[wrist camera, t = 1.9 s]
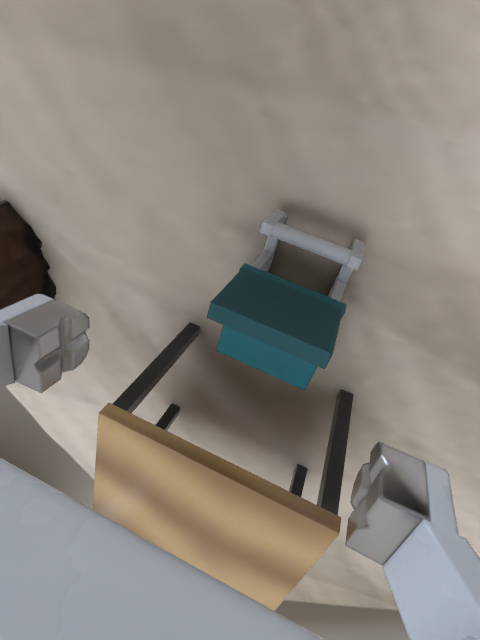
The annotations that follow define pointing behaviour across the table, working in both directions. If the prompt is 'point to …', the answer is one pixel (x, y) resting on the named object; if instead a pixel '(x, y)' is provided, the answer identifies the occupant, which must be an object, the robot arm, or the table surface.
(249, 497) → the desk
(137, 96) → the table surface
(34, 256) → the owl
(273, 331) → the chair
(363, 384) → the table surface
